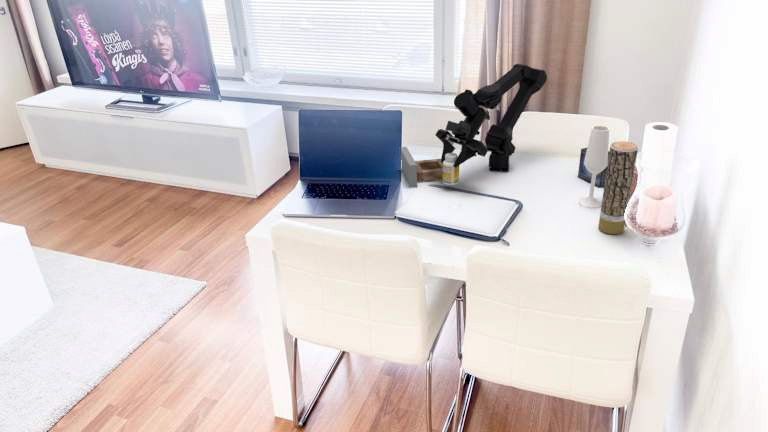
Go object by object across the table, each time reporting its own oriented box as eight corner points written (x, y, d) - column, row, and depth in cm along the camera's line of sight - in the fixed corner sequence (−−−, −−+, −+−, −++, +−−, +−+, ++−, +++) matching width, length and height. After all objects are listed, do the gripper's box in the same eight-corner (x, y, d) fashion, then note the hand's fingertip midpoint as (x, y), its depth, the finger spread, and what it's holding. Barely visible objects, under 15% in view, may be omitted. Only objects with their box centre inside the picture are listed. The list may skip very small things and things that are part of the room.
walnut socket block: (441, 169, 210) (441, 158, 208) (449, 180, 200) (449, 169, 198) (411, 171, 208) (411, 161, 206) (417, 183, 198) (417, 172, 197)
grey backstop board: (406, 167, 211) (406, 146, 207) (417, 187, 195) (416, 164, 191) (400, 168, 211) (399, 147, 207) (410, 187, 195) (409, 165, 191)
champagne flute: (591, 196, 184) (602, 123, 173) (606, 205, 178) (617, 129, 167) (574, 200, 182) (583, 126, 171) (588, 209, 176) (598, 133, 165)
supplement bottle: (444, 186, 189) (444, 158, 185) (441, 179, 194) (441, 152, 190) (460, 184, 190) (461, 157, 185) (457, 178, 195) (457, 151, 190)
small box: (576, 177, 198) (579, 148, 193) (591, 173, 200) (594, 144, 196) (598, 188, 189) (602, 158, 185) (613, 184, 192) (618, 154, 187)
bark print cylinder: (625, 236, 160) (640, 150, 149) (599, 234, 162) (612, 149, 151) (621, 224, 166) (635, 141, 155) (596, 223, 168) (608, 140, 157)
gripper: (439, 105, 190) (415, 145, 189) (482, 116, 177) (457, 160, 176) (455, 122, 198) (432, 161, 197) (498, 135, 185) (474, 176, 184)
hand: (447, 164), depth 188 cm, fingers closed on supplement bottle, 5 cm apart
